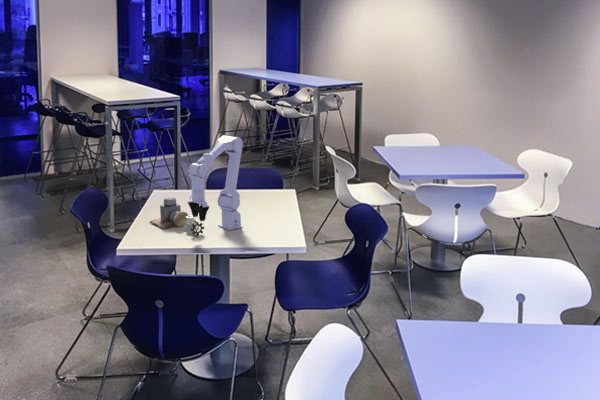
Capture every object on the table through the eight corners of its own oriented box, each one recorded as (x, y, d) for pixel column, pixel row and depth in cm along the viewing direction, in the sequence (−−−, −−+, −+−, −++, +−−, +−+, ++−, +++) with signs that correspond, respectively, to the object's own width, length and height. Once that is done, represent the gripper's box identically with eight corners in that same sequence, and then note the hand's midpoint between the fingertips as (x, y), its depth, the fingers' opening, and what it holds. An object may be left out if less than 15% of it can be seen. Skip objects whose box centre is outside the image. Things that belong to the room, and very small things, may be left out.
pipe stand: (198, 223, 310) (197, 200, 307) (165, 230, 299) (164, 207, 296) (181, 215, 322) (180, 194, 319) (149, 222, 311) (148, 200, 308)
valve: (182, 229, 301) (191, 236, 291) (181, 216, 299) (190, 223, 289) (195, 227, 304) (204, 234, 295) (194, 214, 303) (204, 221, 293)
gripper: (183, 187, 286) (184, 216, 289) (196, 194, 274) (197, 224, 278) (197, 185, 290) (198, 213, 293) (211, 192, 278) (211, 221, 282)
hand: (198, 218), depth 286 cm, fingers open, 7 cm apart
